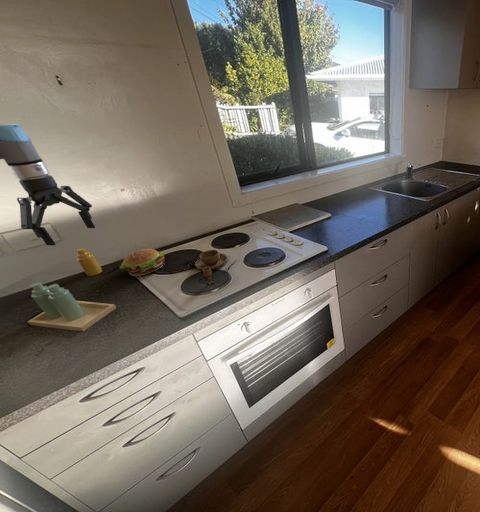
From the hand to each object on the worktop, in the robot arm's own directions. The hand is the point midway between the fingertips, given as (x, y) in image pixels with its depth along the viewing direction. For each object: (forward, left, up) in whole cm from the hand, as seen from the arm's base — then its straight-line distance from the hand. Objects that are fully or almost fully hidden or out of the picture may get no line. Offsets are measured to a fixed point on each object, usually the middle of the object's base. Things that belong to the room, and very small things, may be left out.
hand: (72, 235), depth 104 cm
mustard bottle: (0, 0, -18) cm, 18 cm away
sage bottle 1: (+10, -21, -17) cm, 29 cm away
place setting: (+40, +10, -18) cm, 45 cm away
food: (+15, +7, -18) cm, 24 cm away
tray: (+16, -21, -18) cm, 32 cm away
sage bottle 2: (+16, -21, -17) cm, 32 cm away
